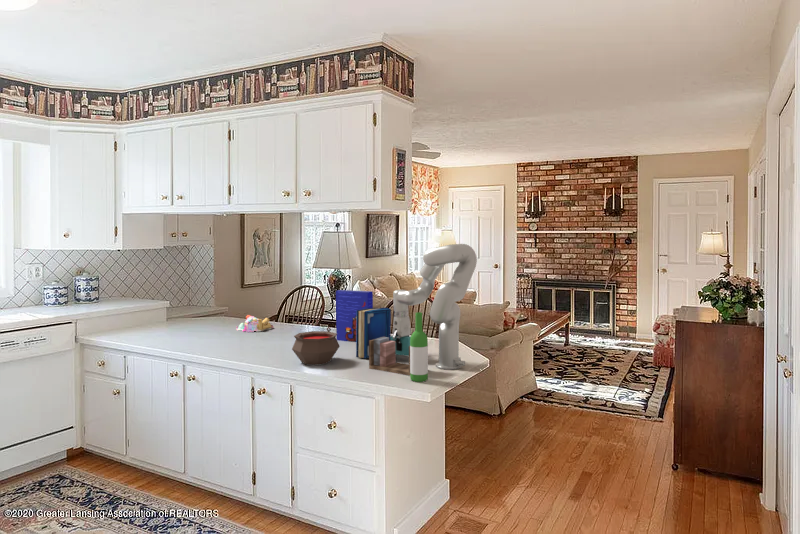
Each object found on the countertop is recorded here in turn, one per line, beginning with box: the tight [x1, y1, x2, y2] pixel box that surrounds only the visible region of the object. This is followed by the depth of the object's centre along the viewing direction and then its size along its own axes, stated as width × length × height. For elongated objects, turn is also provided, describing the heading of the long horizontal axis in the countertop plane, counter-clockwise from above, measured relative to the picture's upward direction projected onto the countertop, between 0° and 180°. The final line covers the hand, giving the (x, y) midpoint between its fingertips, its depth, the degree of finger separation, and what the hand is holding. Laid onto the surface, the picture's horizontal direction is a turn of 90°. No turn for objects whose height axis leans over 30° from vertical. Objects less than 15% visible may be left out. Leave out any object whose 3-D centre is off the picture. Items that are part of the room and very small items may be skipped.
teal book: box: [390, 335, 411, 357], centre depth 288 cm, size 11×4×9 cm, turn 55°
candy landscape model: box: [235, 314, 274, 333], centre depth 378 cm, size 25×24×9 cm
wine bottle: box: [409, 311, 429, 383], centre depth 248 cm, size 8×8×30 cm
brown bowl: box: [291, 326, 341, 366], centre depth 284 cm, size 24×24×16 cm
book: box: [355, 307, 392, 360], centre depth 297 cm, size 22×7×25 cm, turn 141°
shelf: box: [368, 337, 410, 376], centre depth 268 cm, size 24×12×14 cm, turn 55°
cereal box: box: [335, 289, 374, 343], centre depth 336 cm, size 22×6×30 cm, turn 64°
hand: (402, 349), depth 288 cm, fingers closed on teal book, 4 cm apart
